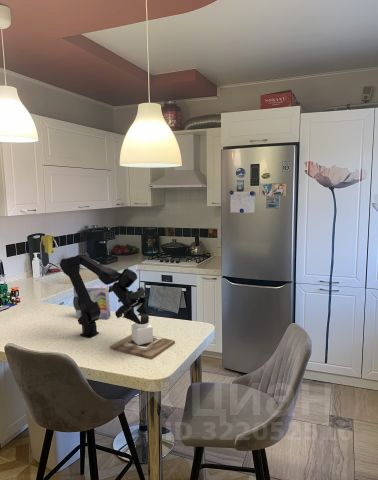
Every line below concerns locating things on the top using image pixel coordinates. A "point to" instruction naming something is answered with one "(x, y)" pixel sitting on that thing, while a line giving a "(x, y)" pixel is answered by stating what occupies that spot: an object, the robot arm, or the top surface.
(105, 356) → the top surface
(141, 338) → the medicine bottle
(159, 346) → the walnut stand
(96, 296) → the cake pan box
